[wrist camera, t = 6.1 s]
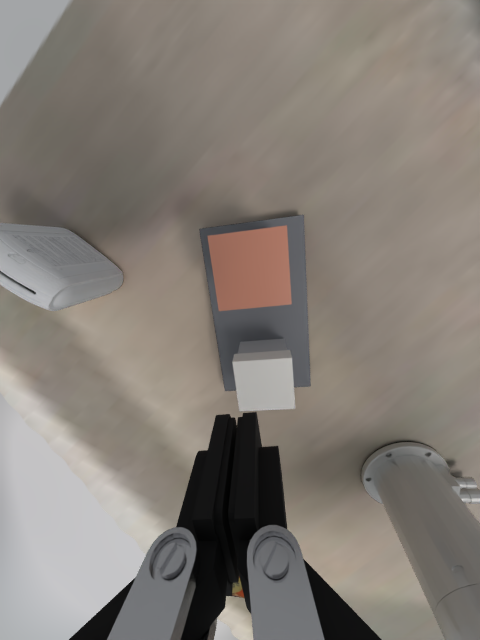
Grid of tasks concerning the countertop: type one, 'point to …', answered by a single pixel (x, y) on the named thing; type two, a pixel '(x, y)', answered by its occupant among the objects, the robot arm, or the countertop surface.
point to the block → (265, 309)
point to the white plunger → (264, 380)
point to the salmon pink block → (251, 268)
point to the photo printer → (53, 266)
